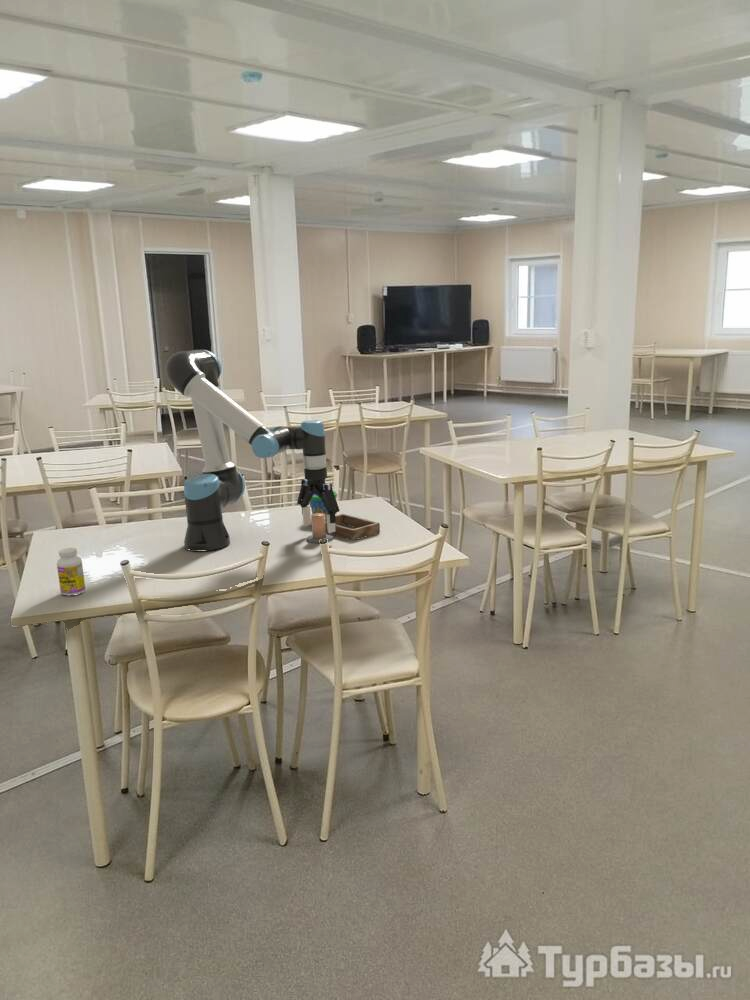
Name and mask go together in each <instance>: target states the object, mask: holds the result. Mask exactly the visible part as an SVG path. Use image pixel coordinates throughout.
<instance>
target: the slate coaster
mask: <svg viewBox="0 0 750 1000" xmlns="http://www.w3.org/2000/svg"><path fill="white" fill-rule="evenodd" d="M325 539H328V540H329V542H330V540H331V541H333V540H334V535H333V534H330V533H326V538H325ZM319 540H320V539H313V534H311V535H308V536H306V542H307V543H311V544H320V543H319Z"/></svg>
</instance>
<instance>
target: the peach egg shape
mask: <svg viewBox="0 0 750 1000" xmlns="http://www.w3.org/2000/svg"><path fill="white" fill-rule="evenodd" d="M310 516H311V529H312V530H311V532H312V534H311V535H313V539H324V538H326V534H327V533H326V524H325V514H324V513H315V514H312V513H311V514H310Z"/></svg>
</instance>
